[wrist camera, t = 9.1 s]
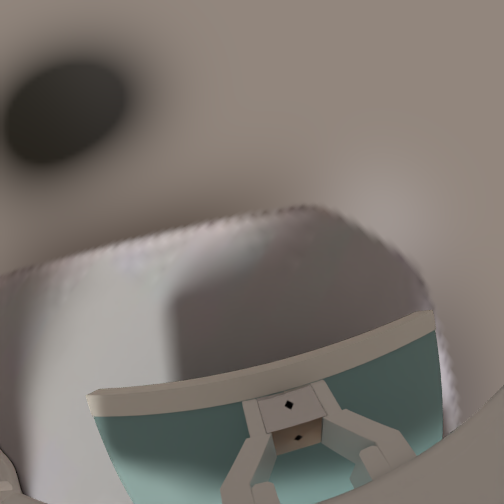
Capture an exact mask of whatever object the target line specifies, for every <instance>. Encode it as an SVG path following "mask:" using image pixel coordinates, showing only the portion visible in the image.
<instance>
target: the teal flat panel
mask: <svg viewBox="0 0 504 504" xmlns="http://www.w3.org/2000/svg"><path fill="white" fill-rule="evenodd" d="M435 329H436V326H435V320H434V315H433V310H427V311H417V312H414V313H412V314H410V315H407V316H405V317H403V318H400V319H398V320H396V321H393V322H391V323H389V324H386V325H384V326H381V327H379V328H376V329H374V330H371V331H368V332H366V333H363V334H360V335H358V336H355V337H352V338H349V339H347V340H344V341H341V342H338V343H335V344H332V345H329V346H326V347H323V348H320V349H316V350H313V351H310V352H307V353H303V354H300V355H296V356H293V357H289V358H286V359H282V360H278V361H275V362H271V363H267V364H263V365H259V366H254V367H250V368H246V369H241V370H237V371H232V372H227V373H223V374H217V375H212V376H207V377H201V378H195V379H189V380H183V381H176V382H169V383H162V384H153V385H144V386H134V387H123V388H108V389H98V390H96V391H94V392H92V393H90V394H88V395H86V398H87V402H88V405H89V408H90V411H91V414H92V416H94V419H95V422H96V425H97V427H98V430H99V433H100V435H101V438H102V440H103V443H104V445H105V447H106V450H107V452H108V454H109V457H110V459H111V461H112V463H113V465H114V468H115V470H116V472H117V474H118V476H119V478H120V480H121V482H122V484H123V485H124V487H125V489H126V491H127V493H128V495H129V496H130V498H131V500H132V502H133V503H134V504H222V499H221V493H220V488H221V486H222V484H223V482H224V480H225V478H226V477H227V475H228V473H229V471H230V469H231V467H232V465H233V463H234V461H235V460H236V458H237V456H238V454H239V452H240V450H241V448H242V446H243V444H244V442H245V440H246V439H247V438H250V435H249V431H248V427H247V423H246V418H245V414H244V410H243V406H242V401H247V400H252V399H256V398H261V397H265V396H270V395H274V394H278V393H282V392H284V391H287V390H291V389H294V388H297V387H300V386H303V385H307V384H311V383H314V382H317V381H320V380H324V381H325V382H326V384H327V386H328V387H329V389H330V391H331V392H332V394H333V396H334V397H335V399H336V401H337V403H338V404H339V406H340V408H341V409H342V410H344V409H347V410H350V411H352V412H354V413H356V414H359V415H361V416H363V417H366V418H368V419H370V420H373V421H375V422H378V423H380V424H383V425H385V426H388V427H390V428H393V429H396V430H398V431H400V433H401V434H402V436H403V437H404V438H405V440H406V441H407V443H408V444H409V445H410V447H411V448H412V450H413V451H414V452H415V454H416V455H417V456H418V455H419V454H421V453H423V452H424V451H426V450H427V449H429V448H430V447H432V446H433V445H434V444H436V443H437V442H439V441H440V440H442V434H443V408H442V386H441V373H440V363H439V355H438V347H437V340H436V333H435ZM256 400H257V399H256ZM354 466H355V463H353V462H351V461H350V460H348V459H346V458H345V457H343V456H341V455H340V454H338V453H336V452H335V451H333V450H331V449H330V448H328V447H327V446H325V445H324V444H322V443H321V442H320V443H317V444H314V445H311V446H307V447H304V448H300V449H297V450H294V451H291V452H287V453H284V454H281V455H277V458H276V461H275V464H274V467H273V470H272V472H271V475H270V478H269V481H268V482H271V483H273V484H274V486H275V489H276V493H277V495H278V498H279V501H280V504H315V503H318V502H321V501H324V500H327V499H330V498H332V497H335V496H338V495H340V494H343V493H345V492H348V491H350V490H353V489H354V487H353V485H352V483H351V481H350V479H349V478H350V476H351V474H352V471H353V469H354Z"/></svg>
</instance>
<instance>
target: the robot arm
mask: <svg viewBox="0 0 504 504" xmlns="http://www.w3.org/2000/svg"><path fill="white" fill-rule="evenodd" d="M256 399H257V400H256ZM256 399H252V400H247V401H242V406H243V410H244V414H245V418H246V423H247V427H248V431H249V435H250V438H247V439H246V440H245V442H244V444H243V446H242V448H241V450H240V452H239V454H238V456H237V458H236V460H235V461H234V463H233V465H232V467H231V469H230V471H229V473H228V475H227V477H226V478H225V480H224V482H223V484H222V486H221V488H220V493H221V499H222V504H280V501H279V498H278V495H277V493H276V489H275V486H274V484H273V483H271V482H268V481H269V478H270V475H271V472H272V470H273V467H274V464H275V461H276V458H277V455H281V454H284V453H287V452H291V451H294V450H297V449H300V448H304V447H307V446H311V445H314V444H317V443H320V442H321V443H322V444H324V445H325V446H327V447H328V448H330V449H331V450H333V451H335V452H336V453H338V454H340V455H341V456H343V457H345V458H346V459H348V460H350V461H351V462H353V463H355V466H354V469H353V471H352V474H351V476H350V478H349V479H350V481H351V483H352V485H353V487H354V489H353V490H350V491H348V492H345V493H343V494H340V495H338V496H335V497H332V498H330V499H327V500H324V501H321V502H318V503H315V504H504V385H503V387H501V388H500V390H499V391H498V392H497V393H496V394H495V395H494V396H493V397H492V398H490V400H488V401H487V403H485V404H484V405H483V406H482V407H481V408H480V409H479V410H478V411H476V412H475V413H474V414H473V415H472V416H471V417H470V418H468V419H467V420H466V421H465V422H464V423H462V424H461V425H460V426H459V427H457V428H456V429H455V430H454V431H452V432H451V433H450V434H448V435H447V436H446V437H444V438H443V439H442V440H440V441H439V442H437V443H436V444H434V445H433V446H432V447H430V448H429V449H427V450H426V451H424V452H423V453H421V454H419V455H418V456H417V455H416V454H415V452H414V451H413V450H412V448H411V447H410V445H409V444H408V443H407V441H406V440H405V438H404V437H403V436H402V434H401V433H400V431H398V430H396V429H393V428H390V427H388V426H385V425H383V424H380V423H378V422H375V421H373V420H370V419H368V418H366V417H363V416H361V415H359V414H356V413H354V412H352V411H350V410H347V409H344V410H342V409H341V408H340V406H339V404H338V403H337V401H336V399H335V397H334V396H333V394H332V392H331V391H330V389H329V387H328V386H327V384H326V382H325V381H324V380H320V381H317V382H314V383H311V384H307V385H303V386H300V387H297V388H294V389H291V390H287V391H284V392H282V393H278V394H274V395H270V396H265V397H261V398H256ZM0 504H47V503H44V502H41V501H39V500H36V499H33V498H31V497H28V496H26V495H24V494H22V492H21V489H20V485H19V481H18V477H17V474H16V471H15V468H14V466H13V464H12V463H11V461H10V460H9V459H8V458H7V456H6V455H5V454H4V453H3V452H2V451H1V450H0Z"/></svg>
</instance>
